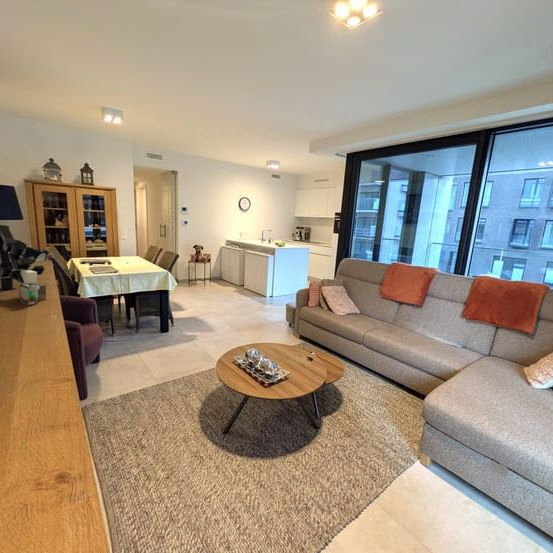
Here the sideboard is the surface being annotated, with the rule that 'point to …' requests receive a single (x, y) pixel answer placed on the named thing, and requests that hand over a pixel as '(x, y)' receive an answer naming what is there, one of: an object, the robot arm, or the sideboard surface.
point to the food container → (29, 293)
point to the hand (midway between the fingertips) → (28, 283)
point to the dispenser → (39, 292)
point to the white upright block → (29, 276)
